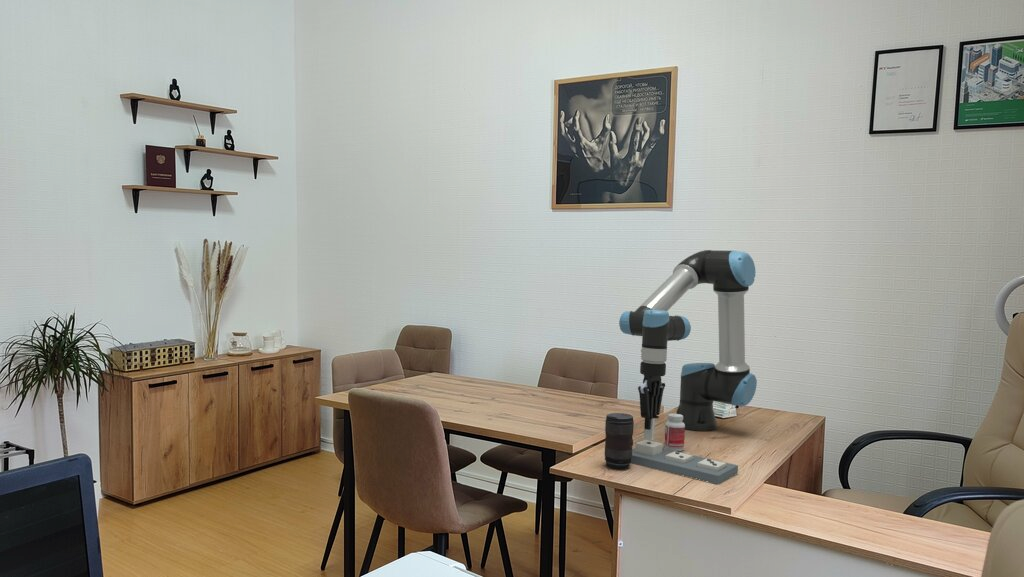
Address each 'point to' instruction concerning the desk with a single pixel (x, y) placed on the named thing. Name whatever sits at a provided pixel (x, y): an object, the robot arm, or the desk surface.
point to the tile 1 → (648, 447)
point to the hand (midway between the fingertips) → (648, 439)
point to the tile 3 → (711, 464)
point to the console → (684, 466)
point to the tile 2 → (679, 457)
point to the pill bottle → (674, 433)
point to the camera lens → (618, 440)
